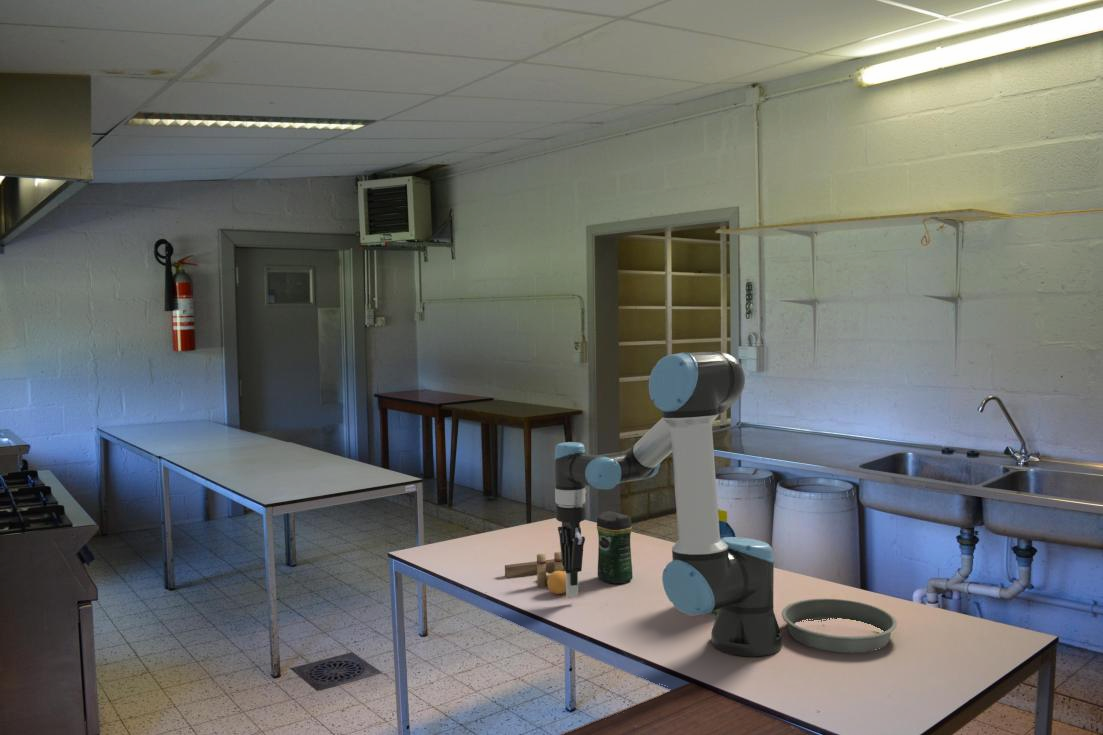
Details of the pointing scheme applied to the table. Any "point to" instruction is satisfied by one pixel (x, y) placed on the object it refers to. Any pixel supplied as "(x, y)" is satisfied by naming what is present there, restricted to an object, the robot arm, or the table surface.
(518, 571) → the back rail
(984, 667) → the table surface
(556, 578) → the ball
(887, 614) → the cake pan
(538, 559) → the pin
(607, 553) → the coffee jar
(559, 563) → the pin
